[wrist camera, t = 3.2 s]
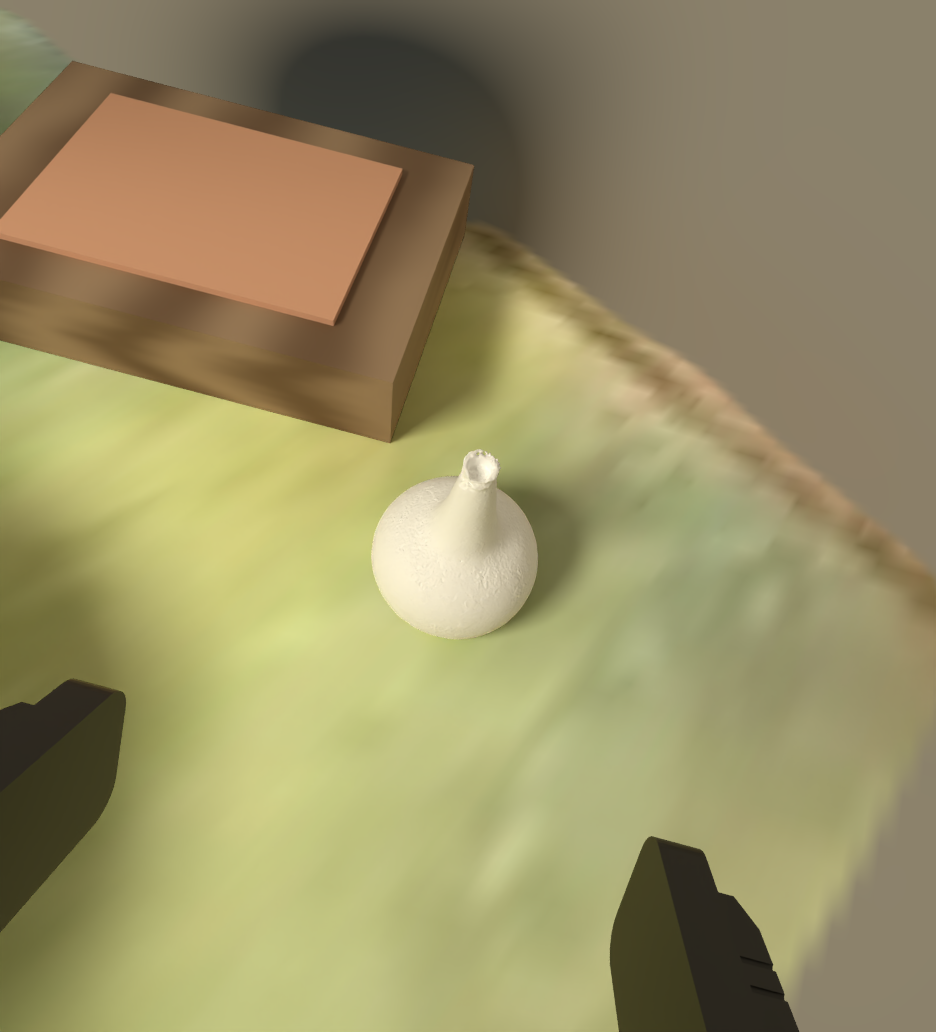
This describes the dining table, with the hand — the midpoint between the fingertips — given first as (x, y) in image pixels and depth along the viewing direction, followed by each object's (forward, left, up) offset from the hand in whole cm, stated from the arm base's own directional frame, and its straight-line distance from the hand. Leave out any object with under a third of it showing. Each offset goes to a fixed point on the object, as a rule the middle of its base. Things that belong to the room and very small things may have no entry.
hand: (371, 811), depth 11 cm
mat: (-14, +23, -10) cm, 29 cm away
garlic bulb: (0, +11, -14) cm, 18 cm away
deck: (-14, +23, -14) cm, 30 cm away
